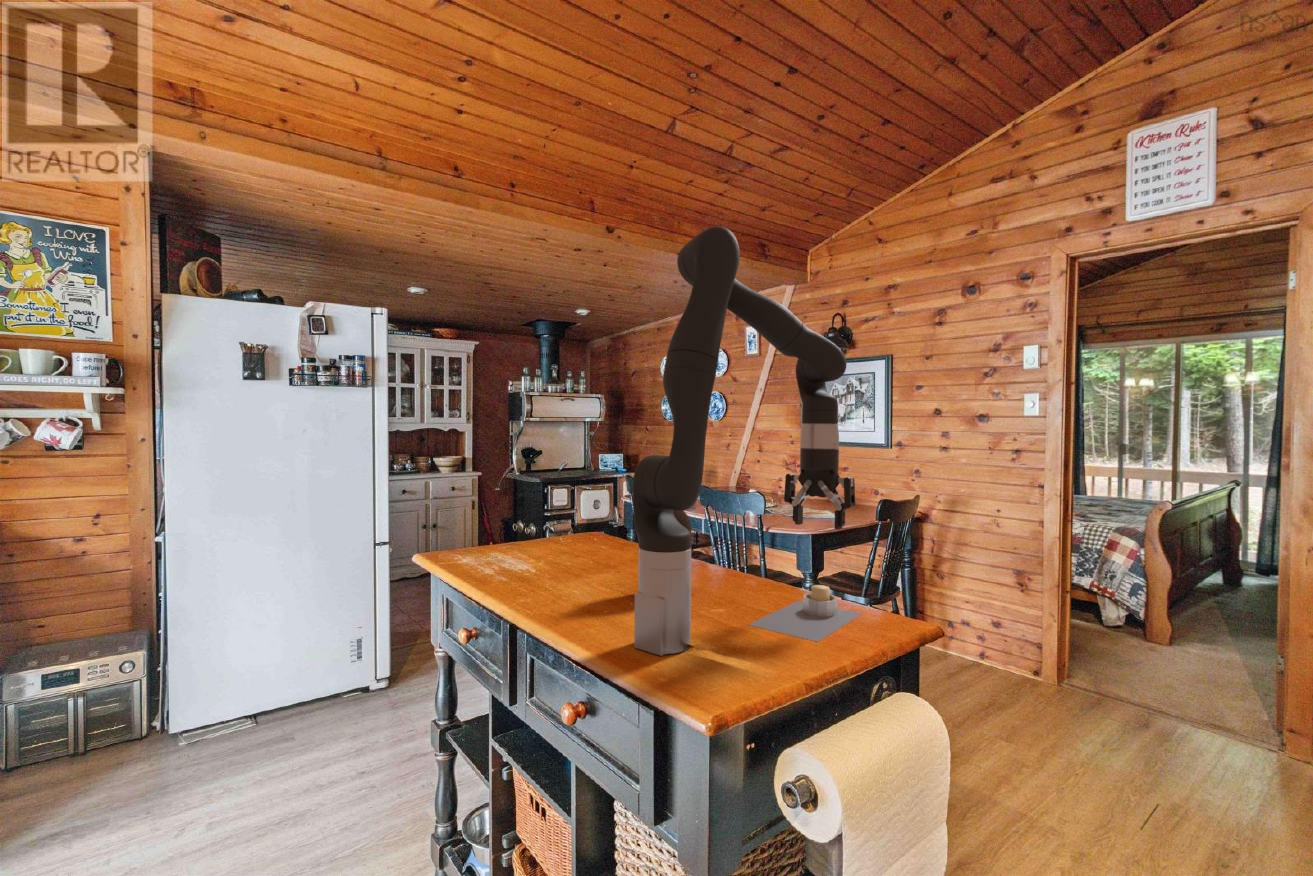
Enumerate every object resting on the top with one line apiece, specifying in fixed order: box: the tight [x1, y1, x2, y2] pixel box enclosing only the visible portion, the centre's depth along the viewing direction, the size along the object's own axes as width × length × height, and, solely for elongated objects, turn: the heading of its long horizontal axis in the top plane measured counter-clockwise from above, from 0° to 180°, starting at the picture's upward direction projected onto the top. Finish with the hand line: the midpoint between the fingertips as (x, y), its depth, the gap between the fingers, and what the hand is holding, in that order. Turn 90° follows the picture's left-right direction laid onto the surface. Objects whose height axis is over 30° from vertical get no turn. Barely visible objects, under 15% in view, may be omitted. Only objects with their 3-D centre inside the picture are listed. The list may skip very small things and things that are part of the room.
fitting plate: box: [747, 584, 863, 643], centre depth 118 cm, size 21×14×6 cm, turn 140°
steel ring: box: [802, 592, 839, 617], centre depth 123 cm, size 7×7×3 cm
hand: (818, 526), depth 122 cm, fingers open, 8 cm apart
